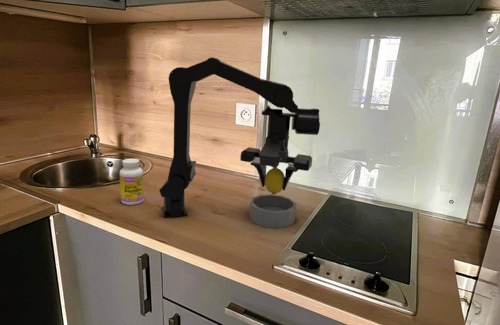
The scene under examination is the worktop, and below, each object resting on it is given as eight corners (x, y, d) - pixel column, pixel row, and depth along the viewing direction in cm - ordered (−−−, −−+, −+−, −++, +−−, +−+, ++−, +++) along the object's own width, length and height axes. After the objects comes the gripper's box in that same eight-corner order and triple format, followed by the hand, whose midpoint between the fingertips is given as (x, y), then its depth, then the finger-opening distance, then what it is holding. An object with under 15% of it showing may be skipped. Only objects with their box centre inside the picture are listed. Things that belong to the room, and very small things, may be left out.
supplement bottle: (121, 206, 93) (118, 164, 90) (120, 198, 99) (117, 158, 96) (145, 204, 96) (143, 162, 93) (143, 196, 102) (141, 156, 98)
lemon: (271, 189, 94) (273, 163, 91) (287, 194, 90) (289, 167, 88) (259, 194, 89) (261, 166, 87) (276, 199, 86) (278, 171, 84)
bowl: (244, 210, 95) (244, 196, 94) (282, 206, 99) (283, 192, 98) (259, 230, 83) (260, 214, 82) (302, 224, 88) (304, 209, 87)
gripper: (233, 133, 80) (231, 191, 84) (307, 142, 74) (301, 205, 79) (249, 127, 90) (246, 179, 95) (315, 135, 84) (309, 190, 89)
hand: (273, 188), depth 89 cm, fingers closed on lemon, 5 cm apart
